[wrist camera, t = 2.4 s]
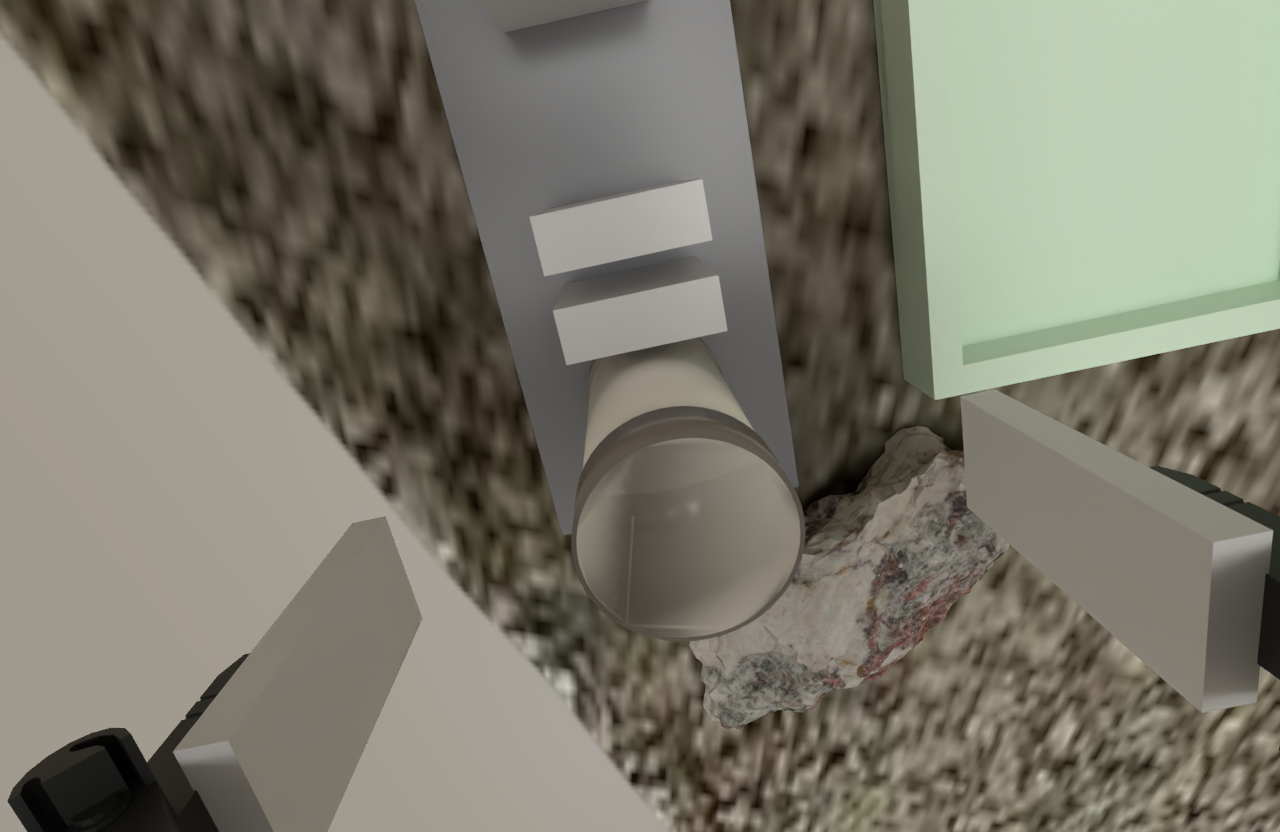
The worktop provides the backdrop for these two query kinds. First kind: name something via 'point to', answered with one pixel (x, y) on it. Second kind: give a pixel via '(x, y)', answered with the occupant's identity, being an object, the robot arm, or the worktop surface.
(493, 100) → the panel
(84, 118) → the worktop surface
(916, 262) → the tray
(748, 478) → the cylinder
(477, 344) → the worktop surface
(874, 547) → the mineral rock
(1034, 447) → the robot arm
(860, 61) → the worktop surface
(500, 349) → the worktop surface
